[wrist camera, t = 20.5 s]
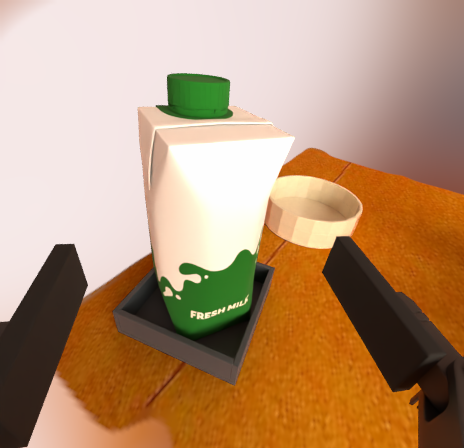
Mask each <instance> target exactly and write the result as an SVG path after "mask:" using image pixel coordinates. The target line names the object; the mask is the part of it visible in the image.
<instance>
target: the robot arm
mask: <svg viewBox="0 0 464 448" xmlns="http://www.w3.org/2000/svg"><path fill="white" fill-rule="evenodd" d="M322 273H323V274H324V276H325V278H326V280H327V281H328V283H329V285H330V286H331V288H332V290H333V291H334V293H335V295H336V297H337V298H338V300H339V302H340V303H341V305H342V307H343V308H344V310H345V312H346V313H347V315H348V317H349V319H350V320H351V322H352V324H353V325H354V327H355V329H356V330H357V332H358V334H359V336H360V337H361V339H362V341H363V342H364V344H365V346H366V347H367V349H368V351H369V353H370V354H371V356H372V358H373V359H374V361H375V363H376V364H377V366H378V368H379V369H380V371H381V373H382V375H383V376H384V378H385V380H386V381H387V383H388V385H389V386H390V388H391V390H392V392H397V391H404V390H409V389H411V388H412V387H413V386H414V385H415V384H416V383H418V385H419V386H420V388H421V390H420V391H419V392H418V393H417V394H416V395H415V396H414V397H412V398H411V400H410V403H409V404H411V405H413V404H415V403H416V402H417V401H418V400H419V405H418V406H417V408H418V409H419V411H418V448H464V357H462V356H461V355H460V354H459V353H458V352H457V351H456V350H455V348H454V347H453V346H452V345H451V344H450V343H449V342H448V340H447V339H446V338H445V337H444V336H443V335H442V334H441V332H440V331H439V330H438V329H437V328H436V327H435V325H434V324H433V323H432V322H431V321H429V319H428V317H427V316H426V315H425V314H424V313H422V310H421V309H420V308H419V307H418V306H417V305H416V304H415V302H414V301H413V300H411V299H410V298H409V297H407V296H406V295H405V294H403V293H402V292H395V290H394V289H393V288H392V287H391V286H390V284H389V283H388V282H387V281H386V280H385V278H384V277H383V276H382V275H381V274H380V272H379V271H378V270H377V269H376V268H375V266H374V265H373V264H372V263H371V262H370V260H369V259H368V258H367V257H366V256H365V254H364V253H363V252H362V251H361V249H360V248H359V247H358V246H357V245H356V243H355V242H354V241H353V240H352V239H351V237H350V236H336V239H335V241H334V244H333V246H332V249H331V251H330V254H329V256H328V259H327V261H326V264H325V266H324V269H323V271H322ZM87 286H88V284H87V281H86V278H85V275H84V272H83V269H82V266H81V263H80V260H79V257H78V254H77V251H76V248H75V245H74V244H56V245H55V246H54V248H53V250H52V251H51V253H50V255H49V256H48V258H47V260H46V262H45V263H44V265H43V266H42V268H41V270H40V271H39V273H38V275H37V277H36V278H35V280H34V281H33V283H32V285H31V286H30V288H29V290H28V291H27V293H26V295H25V296H24V298H23V300H22V301H21V303H20V305H19V306H18V308H17V310H16V311H15V313H14V315H13V316H12V318H11V320H10V321H8V322H0V448H22V447H27V446H28V443H29V441H30V438H31V435H32V433H33V430H34V427H35V425H36V422H37V419H38V417H39V414H40V411H41V409H42V406H43V403H44V400H45V398H46V395H47V393H48V390H49V387H50V385H51V382H52V379H53V377H54V374H55V371H56V369H57V366H58V363H59V361H60V358H61V355H62V353H63V350H64V347H65V345H66V342H67V339H68V337H69V334H70V331H71V329H72V326H73V323H74V321H75V318H76V315H77V313H78V310H79V307H80V305H81V302H82V299H83V297H84V294H85V291H86V289H87Z"/></svg>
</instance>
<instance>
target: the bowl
mask: <svg viewBox="0 0 464 448" xmlns="http://www.w3.org/2000/svg"><path fill="white" fill-rule="evenodd" d="M361 214H362V203H361V202H360V201H359V199H358V198H357V197H356V196H355V195H354V194H353V193H351V192H350V191H349V190H347V189H345V188H343V187H342V186H340V185H338V184H335V183H333V182H330V181H327V180H324V179H320V178H315V177H310V176H301V175H292V176H283V177H279V178H276V181H275V183H274V185H273V187H272V190H271V193H270V196H269V200H268V205H267V210H266V215H265V220H264V222H265V224H266V225H267V227H268V228H269V229H270V230H271V231H272V232H274V233H275V234H276V235H278V236H279V237H281V238H283V239H285V240H287V241H289V242H291V243H294V244H297V245H300V246H304V247H309V248H318V249H326V248H332V246H333V244H334V241H335V239H336V236H350V237H351V235H352V234H353V232H354V230H355V227H356V225H357V223H358V221H359V218H360V216H361Z"/></svg>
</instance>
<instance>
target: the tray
mask: <svg viewBox="0 0 464 448" xmlns="http://www.w3.org/2000/svg"><path fill="white" fill-rule="evenodd" d="M274 269H275V268H274V267H270V266H268V265H265V264H262V263H259V262H256V267H255V273H254V281H253V292H252V303H251V314H250V319H249V320H246V321H244V322H241V323H239V324H236V325H233V326H231V327H228V328H226V329H223V330H221V331H218V332H216V333H213V334H211V335H208V336H206V337H203V338H200V339H198V340H195V341H193V340H190V339H188V338H186V337H183V336H181V335H179V334H177V333H176V330H175V328H174V325H173V322H172V320H171V317H170V314H169V312H168V309H167V307H166V304H165V302H164V299H163V296H162V293H161V291H160V288H159V284H158V281H157V278H156V274H155V270H154V267H153V268H152V269H151V271H150V272H149V273H148V274H147V275H146V276H145V277H144V278H143V279H142V280H141V281H140V282H139V283H138V284H137V286H136V287H135V288H134V289H133V290H132V291H131V292H130V293H129V294H128V295H127V296H126V297H125V298H124V300H123V301H122V302H121V303H120V304H119V305H118V306H117V307H116V308H115V309H114V310H113V315H114V319H115V322H116V326H117V328H118V332H120V333H123V334H125V335H127V336H129V337H131V338H133V339H135V340H138V341H140V342H142V343H144V344H146V345H148V346H151V347H153V348H155V349H157V350H159V351H161V352H163V353H166V354H168V355H170V356H172V357H174V358H176V359H179V360H181V361H183V362H185V363H187V364H189V365H191V366H194V367H196V368H198V369H200V370H202V371H204V372H207V373H209V374H211V375H213V376H215V377H217V378H220V379H222V380H224V381H226V382H228V383H230V384H232V385H235V384H236V381H237V378H238V375H239V372H240V370H241V367H242V364H243V361H244V358H245V356H246V353H247V350H248V347H249V344H250V342H251V339H252V336H253V333H254V330H255V328H256V325H257V322H258V319H259V316H260V314H261V311H262V308H263V305H264V302H265V300H266V297H267V294H268V291H269V288H270V285H271V281H272V277H273V273H274Z"/></svg>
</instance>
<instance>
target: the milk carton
mask: <svg viewBox="0 0 464 448" xmlns="http://www.w3.org/2000/svg"><path fill="white" fill-rule="evenodd" d="M167 90H168V106H165V105H156V107H138V120H139V141H140V150H141V157H142V165H143V177H144V189H145V199H146V208H147V216H148V224H149V233H150V240H151V241H150V242H151V249H152V258H153V265H154V270H155V274H156V278H157V281H158V284H159V288H160V291H161V293H162V296H163V299H164V302H165V304H166V307H167V309H168V312H169V314H170V317H171V320H172V322H173V325H174V328H175V330H176V333H177V334H179V335H181V336H183V337H186V338H188V339H190V340H193V341H195V340H198V339H200V338H203V337H206V336H208V335H211V334H213V333H216V332H218V331H221V330H223V329H226V328H228V327H231V326H233V325H236V324H239V323H241V322H244V321H246V320H249V319H250V314H251V303H252V292H253V281H254V273H255V267H256V262H257V257H258V252H259V246H260V241H261V236H262V231H263V226H264V220H265V215H266V210H267V205H268V200H269V196H270V193H271V190H272V187H273V185H274V183H275V181H276V178H277V176H278V174H279V172H280V169H281V167H282V165H283V163H284V161H285V158H286V156H287V154H288V152H289V149H290V147H291V145H292V143H293V141H294V138H295V137H293V136H292V135H290V134H287V133H286V132H284V131H282V130H280V129H278V128H276V127H274V126H273V124H272V123H271V122H270V121H268V120H266V119H263V118H259V117H257V116H255V115H253V114H251V113H249V112H247V111H245V110H243V109H240V108H238V107H236V106H229V91H230V81H229V80H228V79H225V78H222V77H217V76H210V75H202V74H187V73H180V74H179V73H177V74H170V75H168V76H167Z"/></svg>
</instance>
